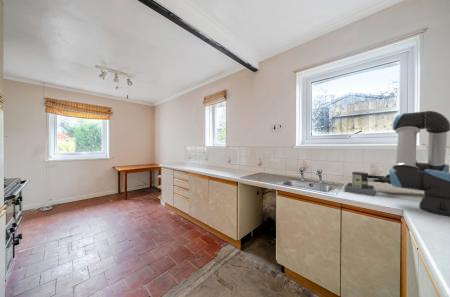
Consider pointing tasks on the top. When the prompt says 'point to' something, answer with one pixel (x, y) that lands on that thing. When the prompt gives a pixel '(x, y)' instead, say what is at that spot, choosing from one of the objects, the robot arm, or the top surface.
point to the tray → (360, 189)
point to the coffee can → (360, 180)
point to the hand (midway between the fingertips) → (363, 178)
